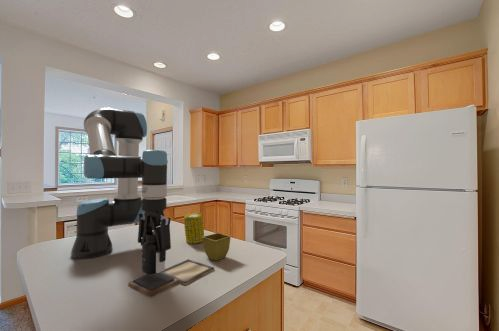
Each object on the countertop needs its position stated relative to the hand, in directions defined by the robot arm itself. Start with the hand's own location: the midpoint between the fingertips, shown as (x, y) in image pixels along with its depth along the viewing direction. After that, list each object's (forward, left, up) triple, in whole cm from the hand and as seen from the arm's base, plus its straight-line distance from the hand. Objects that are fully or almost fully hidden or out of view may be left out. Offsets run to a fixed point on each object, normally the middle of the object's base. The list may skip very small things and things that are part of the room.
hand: (153, 267), depth 75 cm
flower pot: (+3, +28, -5) cm, 28 cm away
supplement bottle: (0, 0, -1) cm, 1 cm away
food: (-21, +38, -5) cm, 44 cm away
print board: (+3, +12, -5) cm, 13 cm away
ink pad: (+1, 0, -5) cm, 5 cm away
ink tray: (+1, 0, -5) cm, 5 cm away
